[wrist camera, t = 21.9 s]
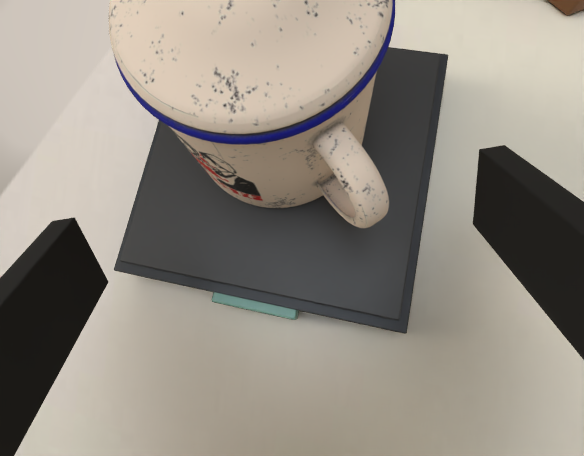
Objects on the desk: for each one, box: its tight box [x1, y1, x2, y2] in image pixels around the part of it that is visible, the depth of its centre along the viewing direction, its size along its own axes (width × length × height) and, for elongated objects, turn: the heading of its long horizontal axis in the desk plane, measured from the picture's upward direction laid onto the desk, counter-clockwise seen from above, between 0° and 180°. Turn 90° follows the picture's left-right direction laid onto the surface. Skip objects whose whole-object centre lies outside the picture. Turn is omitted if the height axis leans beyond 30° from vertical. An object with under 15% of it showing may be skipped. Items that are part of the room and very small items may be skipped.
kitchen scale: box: [114, 47, 448, 333], centre depth 22 cm, size 15×16×3 cm
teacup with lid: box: [109, 0, 395, 228], centre depth 15 cm, size 12×9×12 cm
